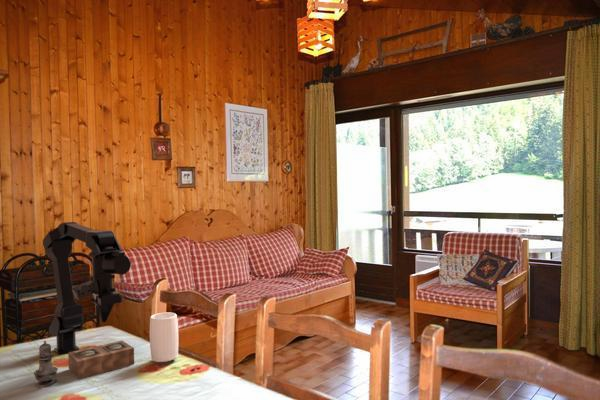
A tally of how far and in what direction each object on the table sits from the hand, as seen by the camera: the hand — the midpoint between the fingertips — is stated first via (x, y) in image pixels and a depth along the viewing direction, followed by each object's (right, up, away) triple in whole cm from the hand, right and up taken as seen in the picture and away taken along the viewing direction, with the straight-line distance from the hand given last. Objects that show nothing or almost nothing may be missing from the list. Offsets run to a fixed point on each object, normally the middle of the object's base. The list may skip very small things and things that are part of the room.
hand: (103, 322), depth 142 cm
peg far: (+4, -12, -1) cm, 13 cm away
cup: (+19, -12, 0) cm, 23 cm away
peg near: (-2, -12, -6) cm, 14 cm away
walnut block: (+1, -13, -3) cm, 13 cm away
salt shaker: (-10, -13, -15) cm, 22 cm away
